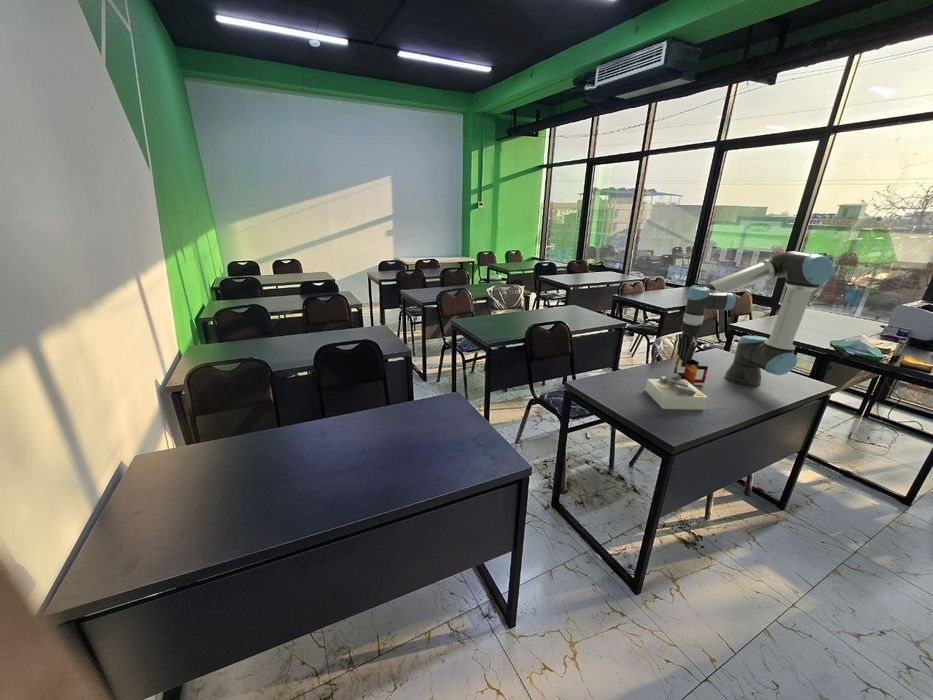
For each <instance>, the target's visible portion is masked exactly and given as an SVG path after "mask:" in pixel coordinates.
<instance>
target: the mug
mask: <svg viewBox="0 0 933 700" xmlns="http://www.w3.org/2000/svg"><path fill="white" fill-rule="evenodd" d="M675 360H676V362H675V366H674V370H673V374H674V373H678V372H677V367H678V362H679V357H678V358H676V359H675ZM698 370H703V374H702V378H701V379H698V378H697V373H698ZM708 370H709V367H708V365H700V363H699V361H698V360H695V359H693V358H692V359H691V360H687V363H686V367H685V371H684V373H678V374H679V375H680V376H681V379H685V380H687V381H688V382H689V383H690V384H692V385H693V386H694V385H695V384H705V381H706V377H707V373H708ZM694 387H695V386H694Z"/></svg>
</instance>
